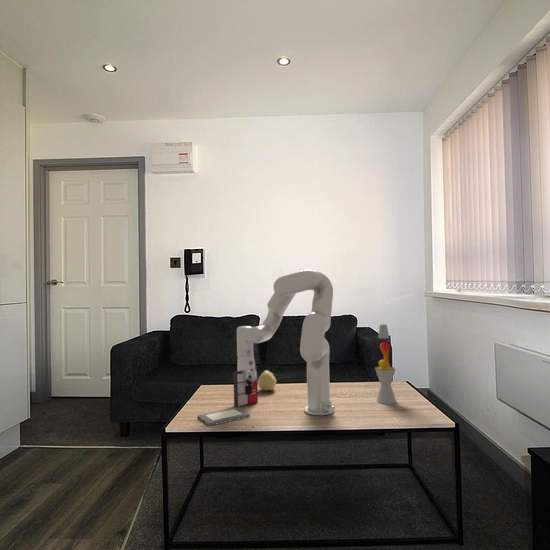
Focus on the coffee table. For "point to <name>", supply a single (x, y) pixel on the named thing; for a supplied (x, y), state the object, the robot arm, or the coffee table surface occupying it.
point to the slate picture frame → (223, 415)
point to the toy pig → (266, 381)
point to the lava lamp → (385, 370)
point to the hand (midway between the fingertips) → (246, 392)
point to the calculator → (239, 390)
